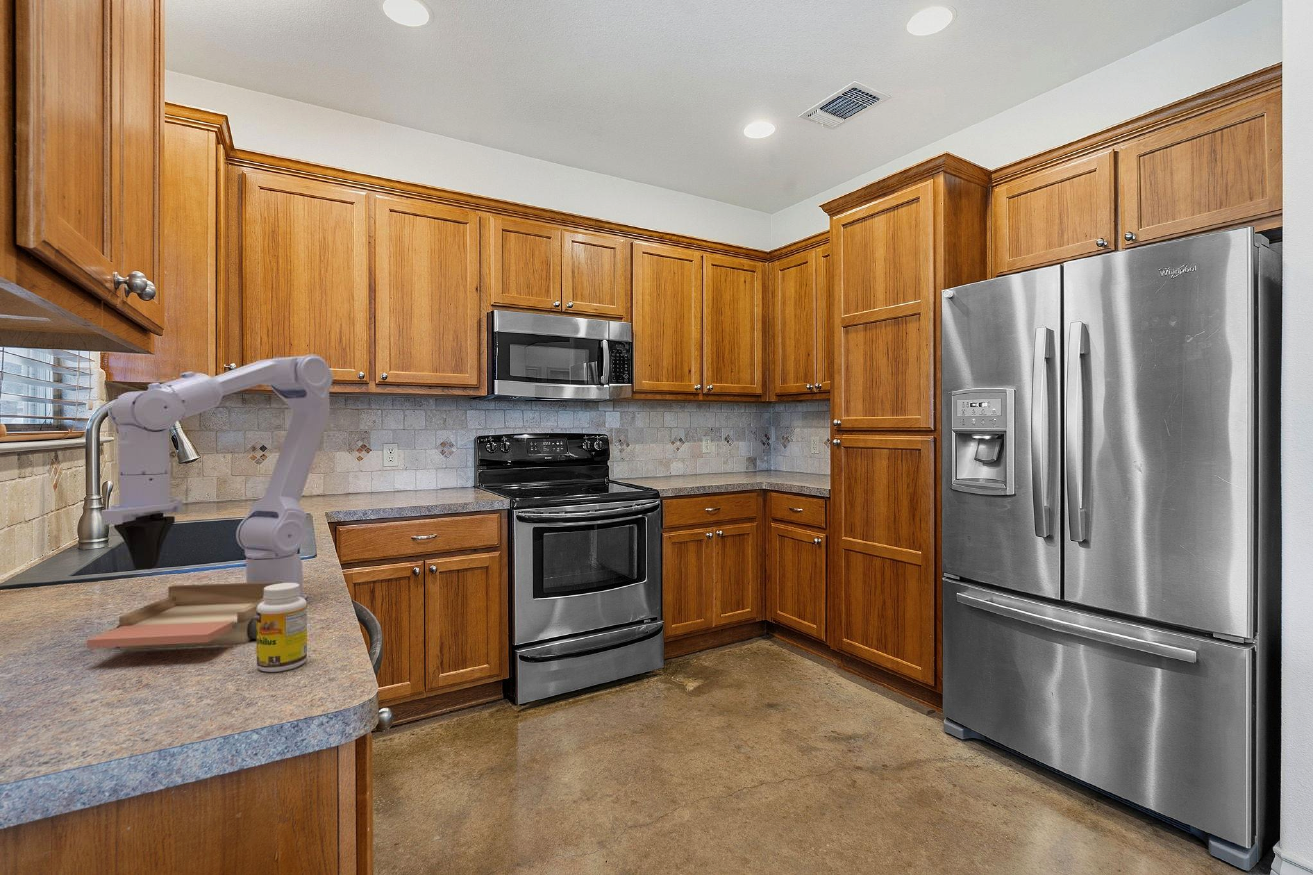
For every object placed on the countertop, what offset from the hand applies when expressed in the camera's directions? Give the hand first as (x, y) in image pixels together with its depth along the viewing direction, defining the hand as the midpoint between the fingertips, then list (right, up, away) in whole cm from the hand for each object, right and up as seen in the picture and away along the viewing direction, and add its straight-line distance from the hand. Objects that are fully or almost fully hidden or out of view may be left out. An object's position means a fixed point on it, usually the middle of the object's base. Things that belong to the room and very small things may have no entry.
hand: (145, 568), depth 91 cm
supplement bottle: (+26, -11, -10) cm, 30 cm away
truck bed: (+7, -10, +3) cm, 13 cm away
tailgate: (+8, -7, -4) cm, 11 cm away
